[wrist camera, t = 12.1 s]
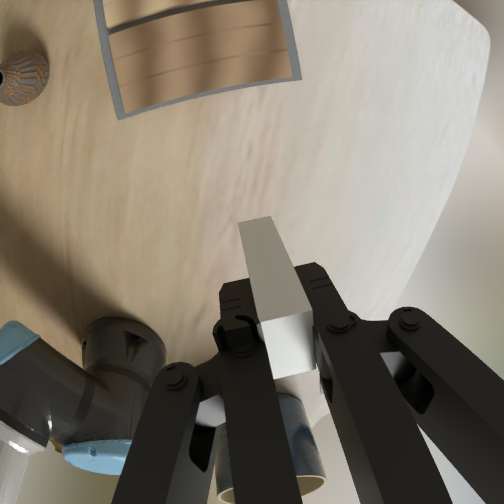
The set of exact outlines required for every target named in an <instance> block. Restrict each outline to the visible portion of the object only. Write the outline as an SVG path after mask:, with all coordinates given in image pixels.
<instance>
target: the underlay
mask: <svg viewBox="0 0 504 504" xmlns="http://www.w3.org/2000/svg"><path fill="white" fill-rule="evenodd" d="M245 1H254V0H215V1H210V2H204V3H199V4H195V5H190V6H185V7H181V8H177V9H173V10H169V11H165V12H162V13H158V14H155V15H151V16H148V17H144V18H141V19H138V20H135V21H132V22H129V23H126V24H123V25H120V26H118V27H115V28H112V29H110V28H108V27H107V26H106V20H105V14H104V7H103V1H102V0H94V6H95V12H96V19H97V25H98V31H99V36H100V42H101V47H102V52H103V57H104V62H105V67H106V72H107V76H108V81H109V85H110V90H111V94H112V98H113V102H114V106H115V110H116V114H117V118H118V120H121V119H124V118H127V117H130V116H133V115H136V114H139V113H142V112H146V111H149V110H152V109H156V108H159V107H163V106H166V105H170V104H174V103H177V102H181V101H185V100H189V99H193V98H198V97H202V96H206V95H211V94H215V93H220V92H225V91H230V90H235V89H241V88H247V87H252V86H259V85H265V84H272V83H279V82H287V81H296V80H302V76H301V70H300V64H299V59H298V53H297V48H296V43H295V38H294V33H293V28H292V23H291V18H290V13H289V9H288V4H287V0H277V1H278V6H279V10H280V15H281V20H282V25H283V29H284V34H285V39H286V44H287V49H288V55H289V60H290V66H291V71H292V77H287V78H279V79H271V80H264V81H258V82H252V83H246V84H240V85H234V86H229V87H224V88H219V89H214V90H210V91H205V92H201V93H197V94H192V95H188V96H184V97H180V98H176V99H173V100H169V101H165V102H162V103H158V104H155V105H151V106H148V107H145V108H142V109H138V110H135V111H132V112H129V113H126V114H125V110H124V106H123V102H122V98H121V94H120V89H119V85H118V81H117V76H116V72H115V67H114V62H113V57H112V52H111V47H110V42H109V37H108V36H109V35H111V34H114V33H117V32H119V31H122V30H125V29H128V28H131V27H134V26H137V25H140V24H143V23H147V22H150V21H153V20H157V19H160V18H164V17H168V16H171V15H175V14H179V13H184V12H188V11H193V10H197V9H202V8H207V7H213V6H218V5H224V4H231V3H238V2H245Z"/></svg>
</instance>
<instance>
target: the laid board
mask: <svg viewBox="0 0 504 504" xmlns="http://www.w3.org/2000/svg"><path fill="white" fill-rule="evenodd" d="M108 37H109V42H110V47H111V52H112V57H113V62H114V67H115V72H116V76H117V81H118V85H119V89H120V94H121V98H122V102H123V106H124V110H125V114H126V113H129V112H132V111H135V110H138V109H142V108H145V107H148V106H151V105H155V104H158V103H162V102H165V101H169V100H173V99H176V98H180V97H184V96H188V95H192V94H197V93H201V92H205V91H210V90H214V89H219V88H224V87H229V86H234V85H240V84H246V83H252V82H258V81H264V80H271V79H279V78H287V77H292V71H291V66H290V60H289V55H288V49H287V44H286V39H285V34H284V29H283V25H282V20H281V15H280V10H279V6H278V1H277V0H254V1H245V2H238V3H231V4H224V5H218V6H213V7H207V8H202V9H197V10H193V11H188V12H184V13H179V14H175V15H171V16H168V17H164V18H160V19H157V20H153V21H150V22H147V23H143V24H140V25H137V26H134V27H131V28H128V29H125V30H122V31H119V32H117V33H114V34H111V35H109V36H108Z"/></svg>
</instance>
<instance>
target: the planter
mask: <svg viewBox="0 0 504 504" xmlns="http://www.w3.org/2000/svg"><path fill="white" fill-rule="evenodd" d="M277 396H278V400H279V404H280V409H281V413H282V417H283V422H284V426H285V430H286V435H287V439H288V443H289V447H290V452H291V456H292V460H293V464H294V468H295V473H296V477H297V481H298V485H299V490H300V494H301V497H302V496H305V495H308V494H310V493H312V492H314V491H316V490H318V489H320V488H321V487H323V486H324V485H325V484H326V482H327V478H326V475H325V471H324V468H323V465H322V461H321V458H320V455H319V452H318V448H317V445H316V442H315V439H314V436H313V433H312V430H311V427H310V424H309V421H308V418H307V415H306V412H305V408H304V406H303V404H302V402H301V401H300V400H299V399H297V398H295V397H293V396H291V395H287V394H282V393H277ZM215 478H216V491H217V499H218V500H219V501H221V502H224V503H227V504H235V499H234V491H233V483H232V475H231V466H230V457H229V448H228V439H227V429H226V422H225V423H222V427H221V433H220V438H219V443H218V448H217V453H216V458H215Z"/></svg>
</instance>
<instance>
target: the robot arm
mask: <svg viewBox="0 0 504 504" xmlns="http://www.w3.org/2000/svg"><path fill="white" fill-rule="evenodd" d="M238 226H239V231H240V235H241V240H242V245H243V250H244V254H245V259H246V264H247V268H248V273H249V278H246V279H242V280H237V281H233V282H228V283H224V284H223V286H222V288H221V290H220V292H219V301H220V311H221V312H220V315H221V319H220V320H218V322H217V323H216V324H215V326H214V328H213V332H212V334H213V337H214V339H215V342H216V345H217V347H218V350H219V352H218V353H217V354H216V355H215V356H214V357H213V358H212V359H210V360H209V361H207V362H205V363H203V364H201V365H198V366H196V367H193V366H192V365H190V364H188V363H184V362H178V363H172V364H170V365H167V366H165V363H166V349H165V346H164V344H163V342H162V340H161V339H160V338H159V337H158V335H157V334H155V333H154V332H153V331H152V330H151V329H149V328H148V327H146V326H144V325H142V324H141V323H138V322H136V321H133V320H130V319H126V318H119V317H108V318H102V319H99V320H97V321H95V322H93V323H92V324H91V325H90V326H89V327H88V328H87V330H86V332H85V335H84V337H83V340H82V363H83V369H82V368H81V367H79V366H78V365H76V364H75V363H74V362H72V361H71V360H69V359H68V358H66V357H65V356H64V355H62V354H61V353H60V352H58V351H57V350H56V349H54V348H53V347H52V346H50V345H49V344H48V343H46V342H45V341H44V340H43V339H41V338H40V337H41V336H40V335H38V334H35V333H34V332H32V331H31V330H30V329H28V328H27V327H26V326H24V325H23V324H22V323H20V322H18V321H14V320H13V321H9V322H7V323H6V324H5V325H4V326H3V327H2V328H1V329H0V504H16V501H17V497H18V493H19V490H20V487H21V483H22V480H23V476H24V473H25V470H26V467H27V464H28V461H29V458H30V455H31V454H33V453H35V452H40V451H43V450H45V449H46V446H47V443H48V440H49V439H51V440H54V441H55V442H57V443H59V444H61V445H62V446H63V448H62V454H63V457H64V459H65V460H66V461H68V462H69V463H70V464H72V465H74V466H76V467H79V468H81V469H85V470H88V471H92V472H97V473H102V474H113V475H120V478H119V481H118V484H117V487H116V490H115V493H114V497H113V500H112V503H111V504H207V499H208V494H209V489H210V483H211V479H212V474H213V469H214V464H215V458H216V453H217V448H218V443H219V438H220V433H221V427H222V423H225V422H226V429H227V439H228V448H229V457H230V466H231V475H232V483H233V491H234V499H235V504H303V502H302V498H301V494H300V490H299V485H298V481H297V477H296V473H295V468H294V464H293V460H292V456H291V452H290V447H289V443H288V439H287V435H286V430H285V426H284V422H283V417H282V413H281V409H280V404H279V400H278V396H277V392H276V387H275V383H274V379H277V378H281V377H286V376H290V375H294V374H298V373H302V372H306V371H310V370H314V369H316V363H317V366H318V369H319V372H320V394H323V393H324V395H325V398H326V400H327V403H328V406H329V409H330V412H331V415H332V418H333V421H334V424H335V427H336V430H337V433H338V436H339V439H340V442H341V445H342V448H343V451H344V454H345V457H346V460H347V463H348V466H349V469H350V472H351V475H352V478H353V482H354V485H355V488H356V491H357V494H358V497H359V500H360V503H361V504H453V503H452V500H451V498H450V496H449V493H448V491H447V489H446V486H445V484H444V482H443V480H442V477H441V475H440V472H439V470H438V468H437V466H436V464H435V462H434V459H433V457H432V455H431V453H430V451H429V448H428V447H427V444H426V442H425V440H424V438H423V436H422V434H421V432H420V430H419V428H418V426H417V424H418V425H419V427H420V428H421V429H422V430H423V431H424V432H425V434H426V435H427V436H428V437H429V438H430V439H431V440H432V442H433V443H434V444H435V445H436V446H437V447H438V448H439V450H440V451H441V452H442V453H443V454H444V455H445V456H446V458H447V459H448V460H449V461H450V462H451V463H452V465H453V466H454V467H455V468H456V469H457V471H458V472H459V473H460V474H461V475H462V476H463V477H464V479H465V480H466V481H467V482H468V483H469V484H470V486H471V487H472V488H473V489H474V490H475V491H476V493H477V494H478V495H479V496H480V497H481V499H482V500H483V501H484V502H485V503H486V504H504V380H503V379H501V378H500V377H499V376H498V375H497V374H496V373H495V372H494V371H493V370H492V369H490V368H489V367H488V366H487V365H486V364H485V363H484V362H483V361H482V360H480V359H479V358H478V357H477V356H476V355H475V354H474V353H472V352H471V351H470V350H469V349H468V348H467V347H466V346H464V345H463V344H462V343H461V342H460V341H459V340H457V339H456V338H455V337H454V336H453V335H452V334H450V333H449V332H448V331H447V330H446V329H444V328H443V327H442V326H441V325H440V324H438V323H437V322H436V321H435V320H434V319H432V318H431V317H430V316H429V315H427V314H426V313H425V312H423V311H422V310H420V309H418V308H414V307H402V308H399V309H396V310H395V311H393V312H392V313H391V314H390V317H389V319H388V320H383V321H366V320H362V319H360V318H359V317H358V316H357V314H355V313H353V312H351V311H348V309H347V307H346V306H345V304H344V302H343V300H342V299H341V297H340V295H339V293H338V292H337V290H336V288H335V286H334V285H333V283H332V281H331V279H330V278H329V276H328V274H327V272H326V271H325V269H324V268H323V267H321V266H320V265H318V264H317V263H315V262H313V263H309V264H304V265H300V266H296V267H293V264H292V262H291V260H290V258H289V256H288V253H287V251H286V249H285V247H284V244H283V242H282V240H281V238H280V236H279V234H278V231H277V229H276V227H275V225H274V223H273V220H272V218H271V216H268V217H263V218H259V219H254V220H249V221H245V222H240V223H238Z"/></svg>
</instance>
